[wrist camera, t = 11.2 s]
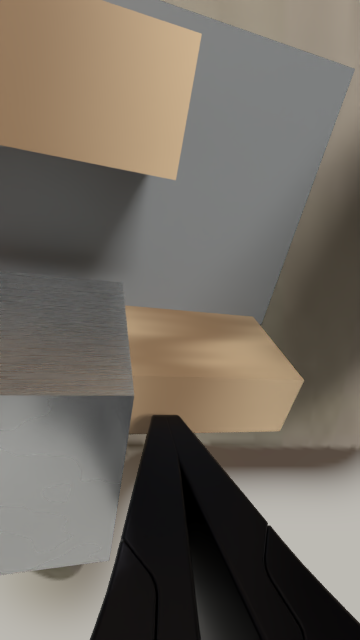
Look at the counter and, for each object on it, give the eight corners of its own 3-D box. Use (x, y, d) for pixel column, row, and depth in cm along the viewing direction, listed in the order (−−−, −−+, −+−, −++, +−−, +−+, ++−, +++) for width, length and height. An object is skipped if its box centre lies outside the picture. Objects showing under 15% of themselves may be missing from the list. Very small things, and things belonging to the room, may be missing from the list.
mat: (346, 71, 10) (355, 68, 9) (239, 370, 15) (242, 375, 15) (-270, -142, 6) (-293, -159, 6) (-121, 357, 11) (-128, 364, 11)
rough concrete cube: (122, 282, 9) (134, 395, 5) (108, 414, 12) (109, 560, 8) (-31, 267, 8) (-164, 395, 4) (-11, 416, 11) (-82, 586, 7)
